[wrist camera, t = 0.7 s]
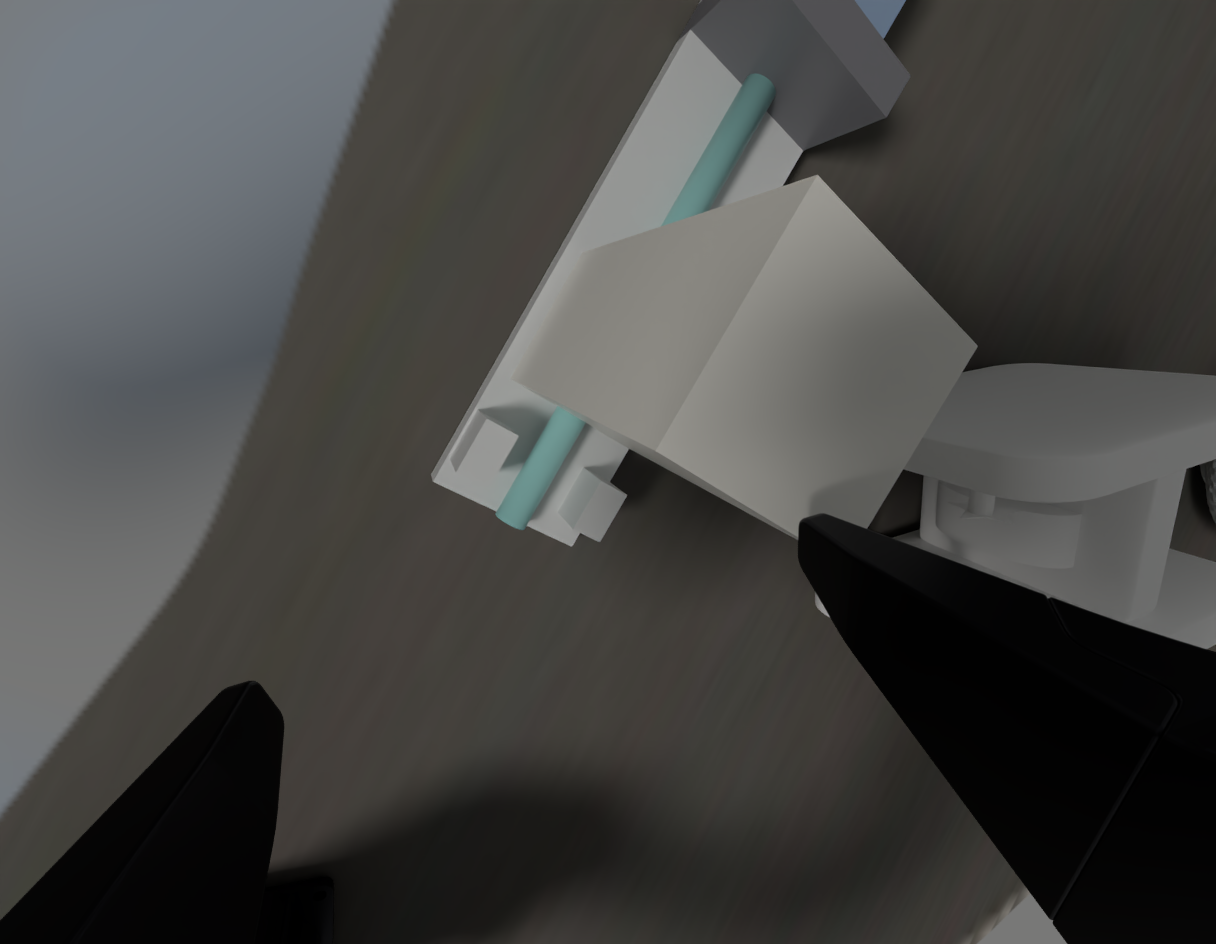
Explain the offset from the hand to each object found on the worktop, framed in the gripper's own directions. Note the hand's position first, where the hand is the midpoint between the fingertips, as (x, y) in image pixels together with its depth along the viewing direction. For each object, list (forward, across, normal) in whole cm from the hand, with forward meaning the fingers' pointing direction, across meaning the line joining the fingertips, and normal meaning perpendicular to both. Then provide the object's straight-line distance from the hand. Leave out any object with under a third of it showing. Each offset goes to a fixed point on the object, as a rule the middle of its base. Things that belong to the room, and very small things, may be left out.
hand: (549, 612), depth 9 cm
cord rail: (+15, -7, -3) cm, 17 cm away
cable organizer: (+14, -19, +12) cm, 26 cm away
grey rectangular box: (+13, -4, 0) cm, 13 cm away
